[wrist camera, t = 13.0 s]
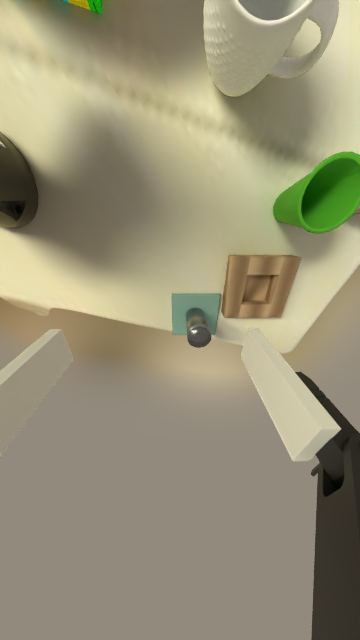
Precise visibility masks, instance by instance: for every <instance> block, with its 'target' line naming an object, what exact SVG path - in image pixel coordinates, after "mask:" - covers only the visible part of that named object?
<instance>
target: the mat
mask: <svg viewBox="0 0 360 640" xmlns="http://www.w3.org/2000/svg"><path fill="white" fill-rule="evenodd" d="M219 300H220V294H172V320H173V335H187V328H186V318H185V315H186V312H187V311H188V310H189V309H191V308H200V309H201V310H202V311H203V312H204V315H205V318H206V321H207V324H208V327H209V331H210V334H211V335H215V332H216V324H217V316H218V308H219Z"/></svg>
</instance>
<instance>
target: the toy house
mask: <svg viewBox="0 0 360 640" xmlns="http://www.w3.org/2000/svg"><path fill="white" fill-rule="evenodd" d="M62 1H65V2H68V3H71V4H74V5H77V6H80V7H83V8H86V9H89V10H92V11H94V12H96V10H97V12H98V13H100V14H102V6H101V4H102V0H62ZM93 2H94V4H95V6H94V4H93ZM95 7H96V9H95Z"/></svg>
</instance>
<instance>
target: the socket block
mask: <svg viewBox="0 0 360 640" xmlns="http://www.w3.org/2000/svg"><path fill="white" fill-rule="evenodd" d="M300 260H301V257H297V256H293V255H229V258H228V265H227V272H226V280H225V287H224V294H223V302H222V309H221V312H222V314H223V316H224V318H260V317H281V315H282V312H283V309H284V306H285V304H286V301H287V298H288V295H289V292H290V289H291V286H292V283H293V280H294V277H295V275H296V272H297V269H298V266H299V263H300Z"/></svg>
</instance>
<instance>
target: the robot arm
mask: <svg viewBox="0 0 360 640" xmlns="http://www.w3.org/2000/svg"><path fill="white" fill-rule="evenodd" d="M37 205H38V194H37V188H36V184H35V181H34V178H33V175H32V173H31V171H30V169H29V167H28V165H27V163H26V161H25V160H24V158H23V157H22V155H21V154H20V152H19V151H18V150H17V149H16V147H15V146H14V145H13V144H12V143H11V142H10V141H9V140H8V139H7V138H6V137H5V136H4V135H3V134H1V133H0V227H7V228H16V227H21V226H24V225H26V224H27V223H29V222H30V221H31V220H32V219H33V217H34V215H35V213H36V210H37ZM241 359H242V361H243V363H244V365H245V367H246V369H247V371H248V373H249V375H250V377H251V379H252V381H253V383H254V385H255V387H256V389H257V391H258V393H259V395H260V397H261V399H262V401H263V403H264V405H265V407H266V409H267V410H268V413H269V415H270V417H271V419H272V420H273V423H274V425H275V427H276V429H277V431H278V432H279V435H280V437H281V439H282V441H283V443H284V444H285V446H286V448H287V451H288V453H289V454H290V456H291V458H292V460H293V461H310V460H311V459H312V458H313V457H314V456H315V455H316V456H317V458H318V459H319V461H320V463H319V464H318V465H317V466H316V467H315V468H314V469H313V470H312V472H311V475H312V476H315V475H316V474H317V473H318V485H317V511H316V537H315V563H314V564H315V565H314V589H313V615H312V640H360V433H359V432H358V431H357V430H356V429H355V428H354V427H353V426H352V425H351V424H350V423H349V422H348V420H347V419H346V418H345V417H344V416H343V415H342V414H341V413H340V411H339V410H338V409H337V408H336V407H335V406H334V405H333V404H332V403H331V401H330V400H329V399H328V398H326V396H325V395H324V393H323V392H322V391H321V390H319V388H318V387H317V386H316V384H315V383H314V382H313V381H312V380H311V379H310V378H308V377H307V376H306V375H304V374H303V373H301V372H294V371H293V370H292V368H291V367H290V366H289V365H288V363H287V362H286V361H285V360H284V359H283V357H282V356H281V355H280V354H279V352H278V351H277V350H276V349H275V348H274V346H273V345H272V344H271V343H270V341H269V340H268V339H267V338H266V337H265V335H264V334H263V333H262V332H261V330H260V329H248V332H247V335H246V339H245V343H244V346H243V350H242V354H241ZM73 360H74V358H73V356H72V353H71V351H70V349H69V346H68V344H67V342H66V339H65V337H64V335H63V332H62V330H61V329H55V330H54V329H53V330H51V329H50V330H49V331H47V332H46V333H45V334H44V335H43V336H41V337H40V338H39V339H38V340H37V341H35V342H34V343H33V344H32V345H31V346H30V347H28V348H27V349H26V350H25V351H24V352H22V353H21V354H20V355H19V356H18V357H16V358H15V359H14V360H13V361H12V362H10V363H9V364H8V365H7V366H6V367H4V368H3V369H2V370H1V371H0V457H1V455H2V454H3V453H4V451H5V450H6V449H7V447H8V446H9V445H10V443H11V442H12V441H13V439H14V438H15V437H16V435H17V434H18V433H19V431H20V430H21V429H22V427H23V426H24V425H25V423H26V422H27V421H28V419H29V418H30V417H31V415H32V414H33V412H34V411H35V410H36V409H37V407H38V406H39V405H40V403H41V402H42V401H43V399H44V398H45V397H46V395H47V394H48V393H49V391H50V390H51V389H52V387H53V386H54V385H55V383H56V382H57V381H58V379H59V378H60V377H61V375H62V374H63V373H64V372H65V370H66V369H67V367H68V366H69V365H70V363H71V362H72V361H73Z"/></svg>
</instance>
